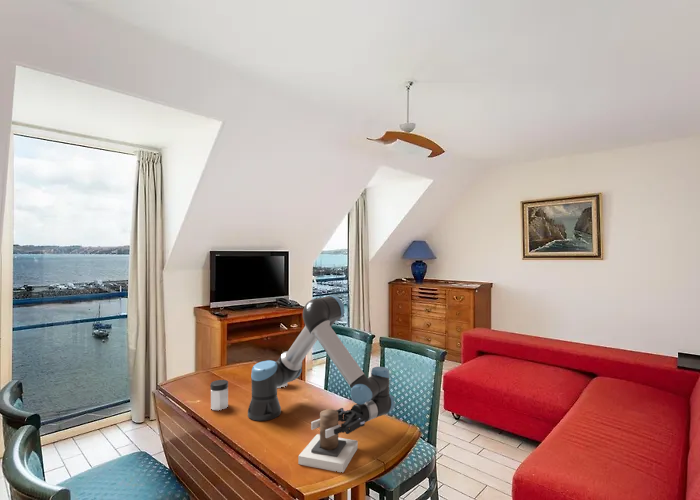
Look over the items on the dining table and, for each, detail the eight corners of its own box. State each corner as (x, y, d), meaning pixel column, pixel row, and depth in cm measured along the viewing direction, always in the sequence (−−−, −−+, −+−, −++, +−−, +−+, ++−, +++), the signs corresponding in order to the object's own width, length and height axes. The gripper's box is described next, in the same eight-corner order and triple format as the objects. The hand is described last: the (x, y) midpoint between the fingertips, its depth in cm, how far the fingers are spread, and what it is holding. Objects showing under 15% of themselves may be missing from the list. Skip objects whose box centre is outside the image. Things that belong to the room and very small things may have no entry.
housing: (298, 464, 137) (298, 453, 137) (317, 441, 154) (317, 431, 154) (343, 472, 132) (343, 461, 132) (357, 448, 148) (357, 438, 148)
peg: (317, 458, 141) (317, 415, 141) (324, 449, 147) (324, 408, 147) (334, 461, 139) (334, 418, 139) (340, 452, 145) (340, 410, 145)
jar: (223, 402, 193) (223, 378, 193) (232, 406, 188) (232, 381, 188) (206, 407, 186) (206, 383, 186) (215, 412, 181) (215, 387, 181)
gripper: (382, 430, 147) (336, 451, 132) (346, 413, 163) (302, 430, 147) (382, 410, 147) (336, 429, 132) (346, 395, 162) (302, 410, 147)
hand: (318, 429), depth 140 cm, fingers open, 8 cm apart
